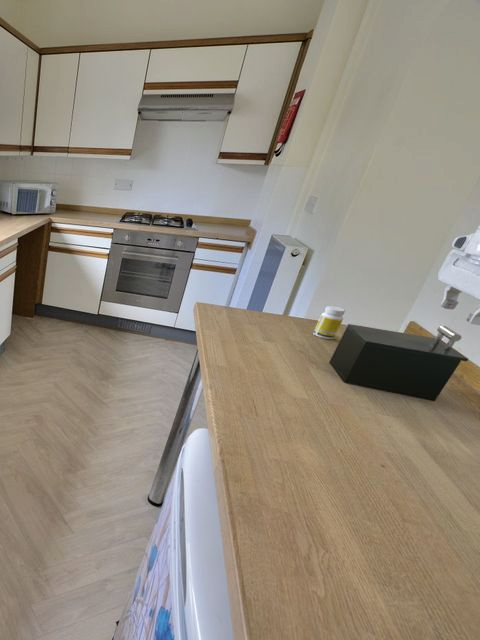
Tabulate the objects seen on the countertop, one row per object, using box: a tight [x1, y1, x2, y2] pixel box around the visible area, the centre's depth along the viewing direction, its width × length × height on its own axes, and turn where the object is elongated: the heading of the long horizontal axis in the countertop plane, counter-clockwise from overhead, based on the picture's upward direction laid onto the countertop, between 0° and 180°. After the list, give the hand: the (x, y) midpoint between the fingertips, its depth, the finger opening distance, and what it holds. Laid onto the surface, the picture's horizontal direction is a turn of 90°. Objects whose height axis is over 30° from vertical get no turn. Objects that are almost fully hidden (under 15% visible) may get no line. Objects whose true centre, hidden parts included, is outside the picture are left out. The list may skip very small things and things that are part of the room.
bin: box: [329, 326, 462, 402], centre depth 91 cm, size 16×11×10 cm
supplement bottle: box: [312, 305, 346, 340], centre depth 114 cm, size 5×5×8 cm
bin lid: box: [347, 323, 469, 362], centre depth 88 cm, size 16×11×4 cm, turn 66°
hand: (459, 315), depth 84 cm, fingers open, 8 cm apart
